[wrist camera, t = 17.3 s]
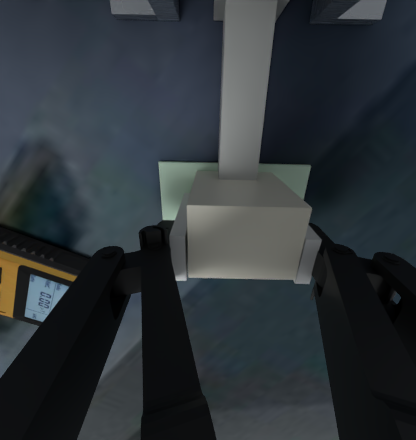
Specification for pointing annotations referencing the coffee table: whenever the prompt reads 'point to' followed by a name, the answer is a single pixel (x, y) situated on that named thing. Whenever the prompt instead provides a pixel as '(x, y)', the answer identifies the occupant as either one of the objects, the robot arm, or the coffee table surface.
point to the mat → (185, 171)
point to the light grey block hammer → (244, 165)
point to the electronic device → (33, 276)
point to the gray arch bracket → (320, 14)
